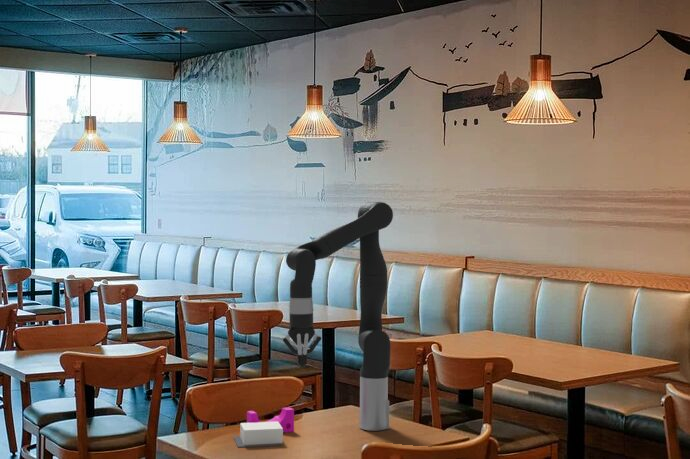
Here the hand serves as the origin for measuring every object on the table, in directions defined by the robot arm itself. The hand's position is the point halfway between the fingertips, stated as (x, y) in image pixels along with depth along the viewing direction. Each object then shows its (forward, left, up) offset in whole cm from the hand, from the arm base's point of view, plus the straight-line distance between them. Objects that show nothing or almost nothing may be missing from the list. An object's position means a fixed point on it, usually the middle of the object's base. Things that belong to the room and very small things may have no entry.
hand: (301, 366), depth 287 cm
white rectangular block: (+7, +2, -20) cm, 21 cm away
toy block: (+9, -10, -23) cm, 27 cm away
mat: (+14, +2, -23) cm, 27 cm away
